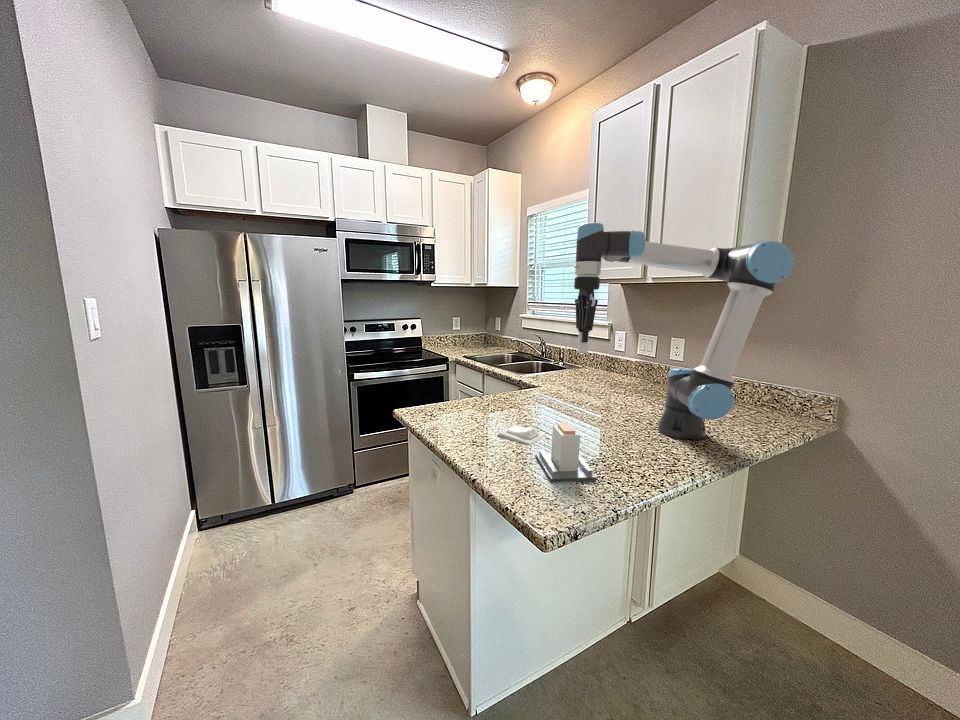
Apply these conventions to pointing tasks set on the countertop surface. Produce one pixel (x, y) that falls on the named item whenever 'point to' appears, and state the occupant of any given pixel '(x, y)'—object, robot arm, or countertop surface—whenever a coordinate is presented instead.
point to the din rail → (564, 476)
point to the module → (565, 447)
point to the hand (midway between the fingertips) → (582, 352)
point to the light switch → (522, 434)
